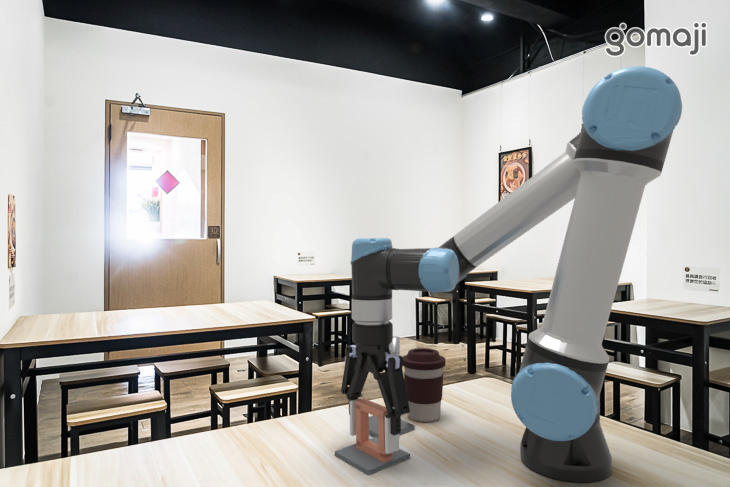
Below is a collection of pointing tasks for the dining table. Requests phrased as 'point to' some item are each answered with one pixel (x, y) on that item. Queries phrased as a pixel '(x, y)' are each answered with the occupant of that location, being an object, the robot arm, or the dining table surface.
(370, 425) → the stand
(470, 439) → the dining table surface
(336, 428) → the dining table surface
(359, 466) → the coaster
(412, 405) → the coffee cup
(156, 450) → the dining table surface
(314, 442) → the dining table surface
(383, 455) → the link
